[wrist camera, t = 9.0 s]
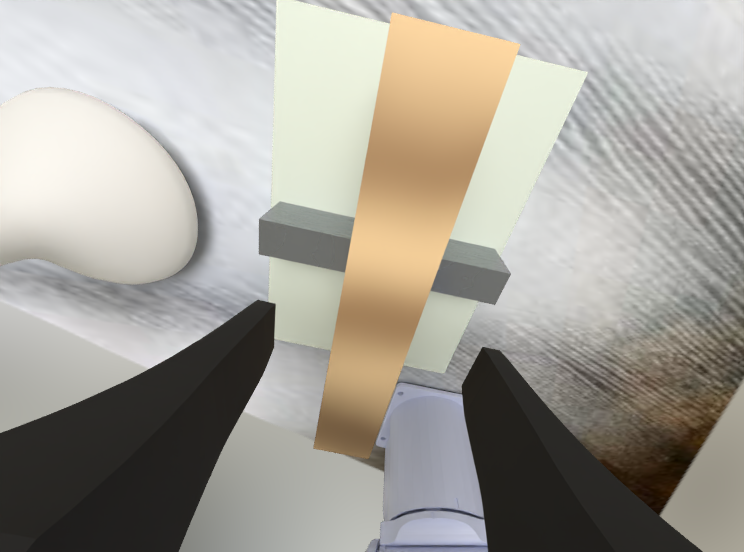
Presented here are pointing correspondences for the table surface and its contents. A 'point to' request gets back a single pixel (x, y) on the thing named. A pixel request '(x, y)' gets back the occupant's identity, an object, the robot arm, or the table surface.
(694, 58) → the table surface
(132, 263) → the flower in vase
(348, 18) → the balance stand
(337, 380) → the wooden block
